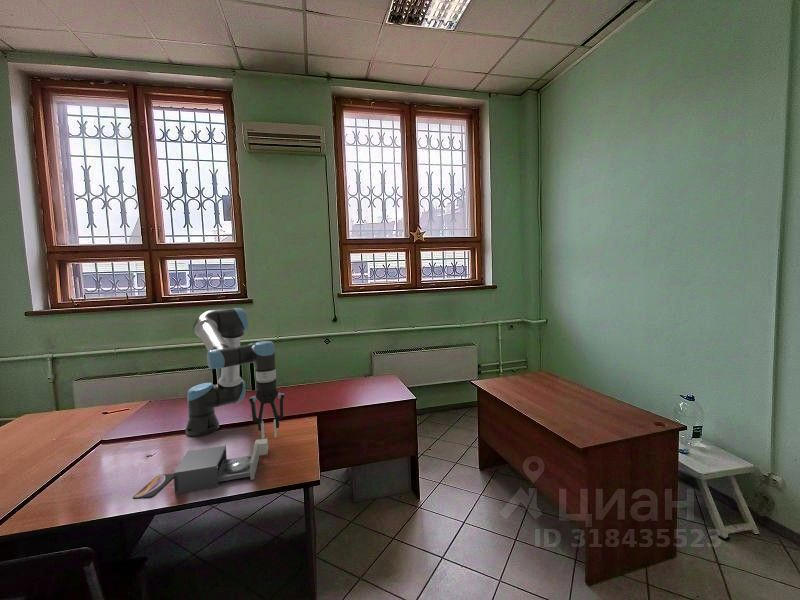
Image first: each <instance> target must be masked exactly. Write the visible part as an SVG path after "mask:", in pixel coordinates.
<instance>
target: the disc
mask: <svg viewBox="0 0 800 600" xmlns="http://www.w3.org/2000/svg"><path fill="white" fill-rule="evenodd" d="M234 458H235V459H233V460H231V461H229V462H228V463H226V465H225V467H226V472H227V473H239V472H242V471H244V470H246V469H248V468H249V467H250V459H249V458H247V457H245V456H240V457H234Z"/></svg>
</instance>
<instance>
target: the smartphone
mask: <svg viewBox="0 0 800 600" xmlns="http://www.w3.org/2000/svg"><path fill="white" fill-rule="evenodd" d="M172 480H174V474H173V473H167V474H166V473H165V474H158V475H157V476H155V477H154V478H153V479H151V481H150V482H148V483H147V484H146V485H145V486H143V488H141V490H139V491H138V492H136V494H134V496H132V499H133V500H137V499H139V500H141V499H152V498H154V497H155V496H157V495H158V494H159V493H160V492H161V491H162V489H164V488H165V487H166V486H168V484H169V483H170V482H171V481H172Z"/></svg>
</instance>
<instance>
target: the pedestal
mask: <svg viewBox="0 0 800 600" xmlns="http://www.w3.org/2000/svg"><path fill="white" fill-rule="evenodd" d="M256 443H258V450H259V457H260V456H265V455H268V453H269V441H268V438H264V439H262V438H260V439H255V441H254V446H255V444H256ZM254 446H253V447H254Z"/></svg>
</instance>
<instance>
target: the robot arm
mask: <svg viewBox="0 0 800 600" xmlns="http://www.w3.org/2000/svg"><path fill="white" fill-rule="evenodd" d="M192 329H193V332H194V334H195V335H196V336H197V337H198V338H200V339H201V341H202V342H203V344H204V346H205V348H206V350H207V352H206V363H207V366H208V368H209V369H210V370H215V369H216V370H217V369H218V370H219V369H220V370H221V372H220V374H221V375H220V377H219V378H218V380H217V384H213V383H212V382H204V383H200V384H197V385H194V386H192V387H191V388H189V389H188V390H187V392H186V393H187V395H186V396H187V398H186V400H187V407H188V408H187V409H188V410H187V411H188V420H187V423H186V426H185V434H186V436H188V437H201V436H206V435H209V434H212V433H214V432H216V431H217V430H218V429H220V421H219V419H218V417H217V414H216V412H215V411H216V410H215V408H219V407H223V406H226V405H231V404H236V403H239V402H242V401H243V400H244V398H245V396H246V392H247V391H246V382H245V380H243V378H242V377H241V376H240V366H241V365H246V364H252V363H254V364H255V366H254V367H255V380H256V384H255V385H256V393H255V395H254V396H250V397H249V399H248V401H249V404H250V405H251V417H252V422H253V423H257V429H258V431H260V432H261V439H265V424H264V420H263V413H264V408H265V405H266V404H270V406H271V410H272V413H273V416H274V419H273V430H274V431H273V434H274V435H273V436H274V438H277V437H278V436H277V435H278V429H279V428H280V420H282V419H283V418H284V399H285V393H284V392H282V393H281V392H279V391H278V388H277V380H276V378H277V372H276V371H277V369H276V349H275V343H274V342H273V341H272V340H265V341H264V340H263V341H262V340H261V341H257V342H251V343H250V342H249V344H247V345H246V344H245V345H241V338H242V337H243V336H244V334H245V331H247V330H248V329H249V319H248V316H247V313H246V311H245V310H244V309H243V308H240V307H232V308H221V309H210V310H206V311H204V312H202V313H201V314H199V315H198V316H197V317H196V318H195V320H194V322H193V325H192ZM277 397H278V399H279V412H278V409H277V406H276V402H275V400H276V399H277ZM257 400H258V401H259V402H260V406H259V412H258V417H257V408H256V401H257Z"/></svg>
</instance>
